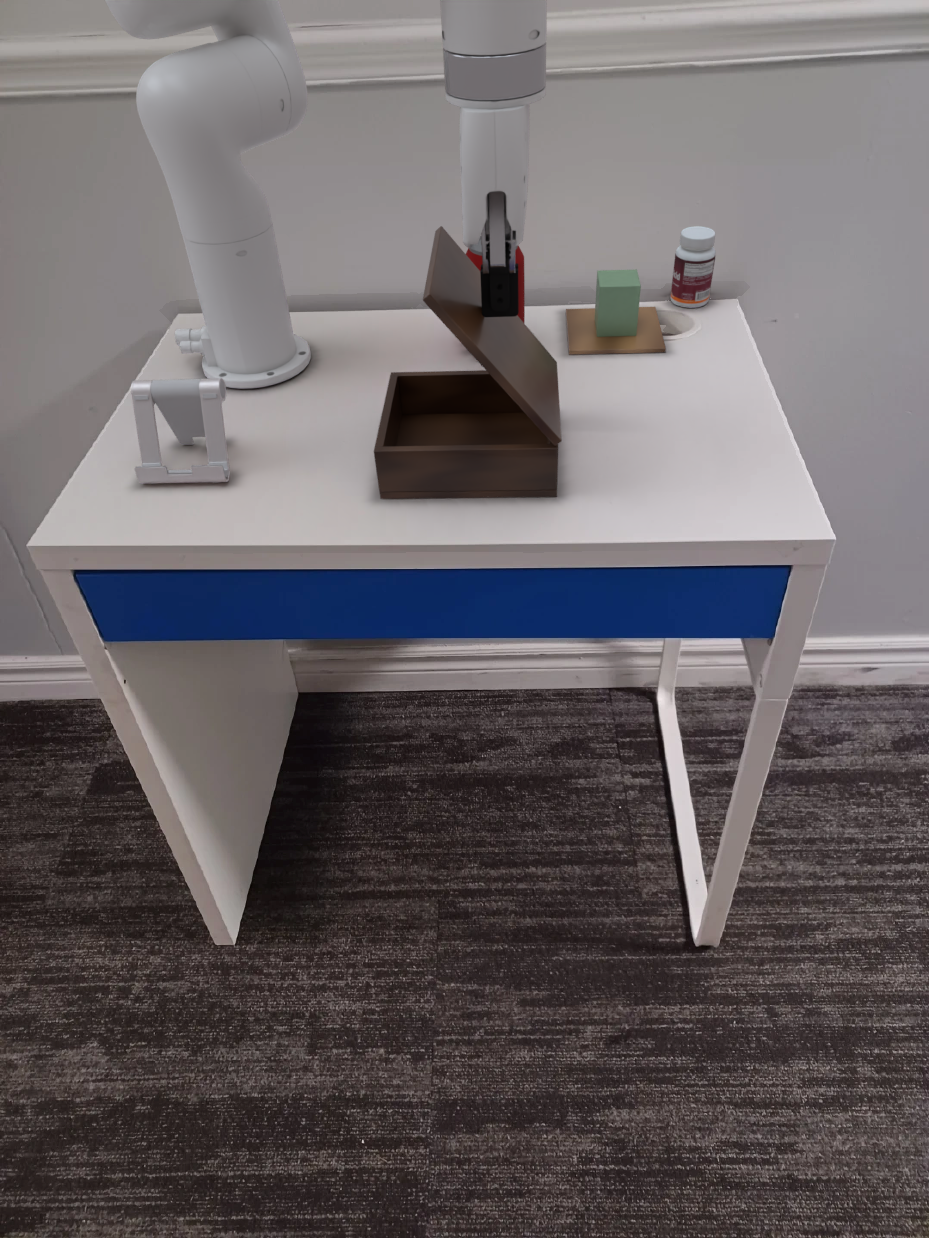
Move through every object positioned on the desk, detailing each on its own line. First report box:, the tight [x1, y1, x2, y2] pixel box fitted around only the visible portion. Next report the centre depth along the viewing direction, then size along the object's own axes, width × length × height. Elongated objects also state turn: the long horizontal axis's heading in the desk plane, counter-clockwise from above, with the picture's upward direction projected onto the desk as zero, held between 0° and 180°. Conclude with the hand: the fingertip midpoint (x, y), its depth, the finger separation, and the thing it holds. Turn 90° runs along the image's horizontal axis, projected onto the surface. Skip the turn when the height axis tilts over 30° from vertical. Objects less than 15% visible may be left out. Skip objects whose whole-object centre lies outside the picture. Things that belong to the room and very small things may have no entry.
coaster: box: [565, 306, 667, 355], centre depth 106 cm, size 11×11×1 cm
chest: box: [373, 369, 559, 500], centre depth 87 cm, size 17×15×5 cm
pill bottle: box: [670, 225, 717, 309], centre depth 108 cm, size 5×5×8 cm
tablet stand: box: [130, 377, 231, 485], centre depth 87 cm, size 9×8×8 cm
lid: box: [422, 225, 563, 446], centre depth 80 cm, size 17×15×1 cm
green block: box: [594, 268, 642, 337], centre depth 104 cm, size 5×5×6 cm
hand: (500, 312), depth 78 cm, fingers closed
